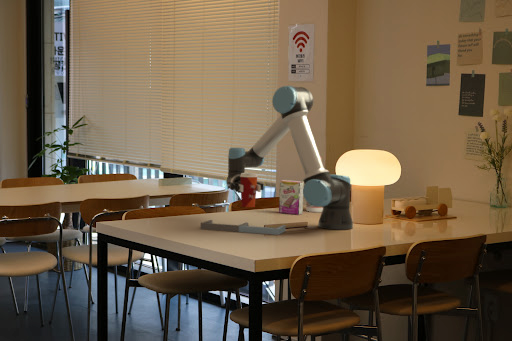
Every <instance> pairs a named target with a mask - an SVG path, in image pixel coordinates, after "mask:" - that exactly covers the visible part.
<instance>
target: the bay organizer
mask: <svg viewBox="0 0 512 341" xmlns="http://www.w3.org/2000/svg"><path fill="white" fill-rule="evenodd" d="M200 230H212V231H223V232H224V231H225V232H233V233H235V232H237V233H238V232H239V233H249V234H262V235H274V236H279V235H280V234H283V233H285V232H286V225H285V224H283V225H281V226H280V225H279V226H277V227H267V226H265V227H264V226H263V227H262V226H253V225H252V226H250V225H249V222H244V223H241V224H238V225H237V224H225V223H213V219H209V220H205V221H203V222H200Z"/></svg>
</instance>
